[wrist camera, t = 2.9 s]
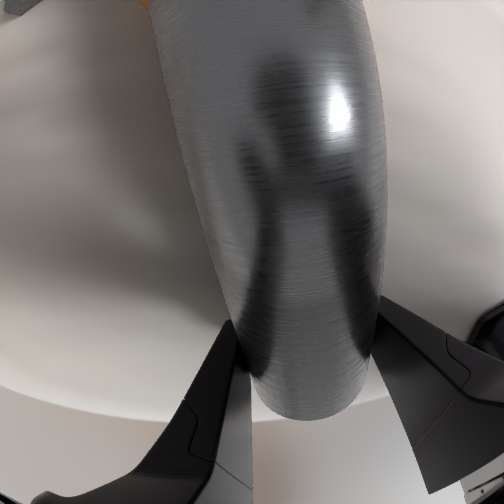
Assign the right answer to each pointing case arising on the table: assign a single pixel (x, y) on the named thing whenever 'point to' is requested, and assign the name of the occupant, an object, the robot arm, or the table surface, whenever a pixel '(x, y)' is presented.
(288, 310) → the tube
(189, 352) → the table surface
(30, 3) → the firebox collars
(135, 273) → the table surface
